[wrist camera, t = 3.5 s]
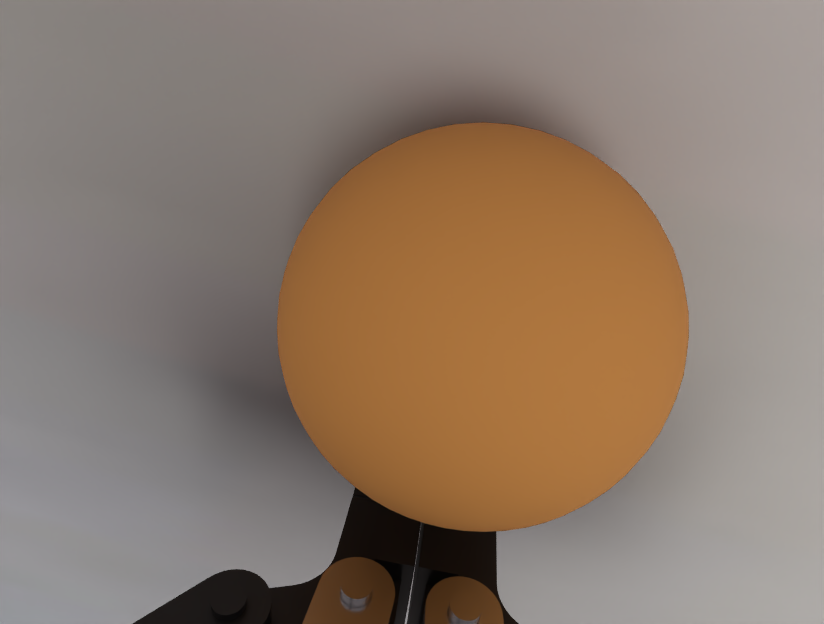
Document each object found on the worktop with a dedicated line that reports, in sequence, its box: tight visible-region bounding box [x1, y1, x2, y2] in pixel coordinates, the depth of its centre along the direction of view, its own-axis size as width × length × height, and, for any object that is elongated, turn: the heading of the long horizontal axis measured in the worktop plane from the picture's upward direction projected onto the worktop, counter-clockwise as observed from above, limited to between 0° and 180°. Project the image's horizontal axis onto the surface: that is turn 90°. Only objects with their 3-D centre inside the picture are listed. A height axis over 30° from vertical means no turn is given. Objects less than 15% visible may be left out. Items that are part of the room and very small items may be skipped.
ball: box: [277, 122, 689, 532], centre depth 9 cm, size 6×6×6 cm
